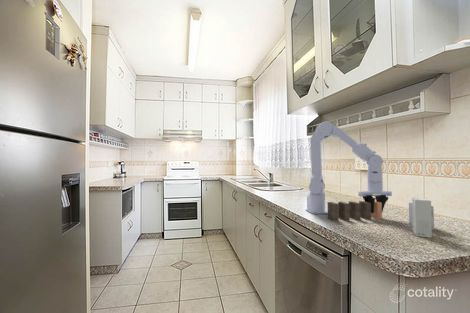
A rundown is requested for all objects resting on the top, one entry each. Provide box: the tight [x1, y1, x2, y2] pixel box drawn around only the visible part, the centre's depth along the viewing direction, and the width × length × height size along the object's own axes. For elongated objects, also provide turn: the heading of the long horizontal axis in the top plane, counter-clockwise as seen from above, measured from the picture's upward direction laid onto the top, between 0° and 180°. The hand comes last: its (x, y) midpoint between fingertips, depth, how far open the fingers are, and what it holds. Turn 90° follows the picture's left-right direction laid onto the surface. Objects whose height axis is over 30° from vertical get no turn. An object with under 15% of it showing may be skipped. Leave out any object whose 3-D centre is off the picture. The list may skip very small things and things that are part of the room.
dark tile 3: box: [348, 200, 361, 221], centre depth 101 cm, size 5×2×7 cm, turn 7°
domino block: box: [358, 200, 372, 221], centre depth 101 cm, size 5×2×7 cm, turn 7°
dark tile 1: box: [327, 201, 339, 222], centre depth 99 cm, size 5×2×7 cm, turn 7°
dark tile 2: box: [337, 201, 351, 221], centre depth 100 cm, size 5×2×7 cm, turn 7°
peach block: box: [371, 200, 383, 220], centre depth 102 cm, size 5×2×7 cm, turn 7°
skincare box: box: [411, 197, 433, 239], centre depth 78 cm, size 6×4×12 cm
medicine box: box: [408, 202, 435, 231], centre depth 87 cm, size 8×4×9 cm, turn 168°
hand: (375, 212), depth 102 cm, fingers open, 4 cm apart
